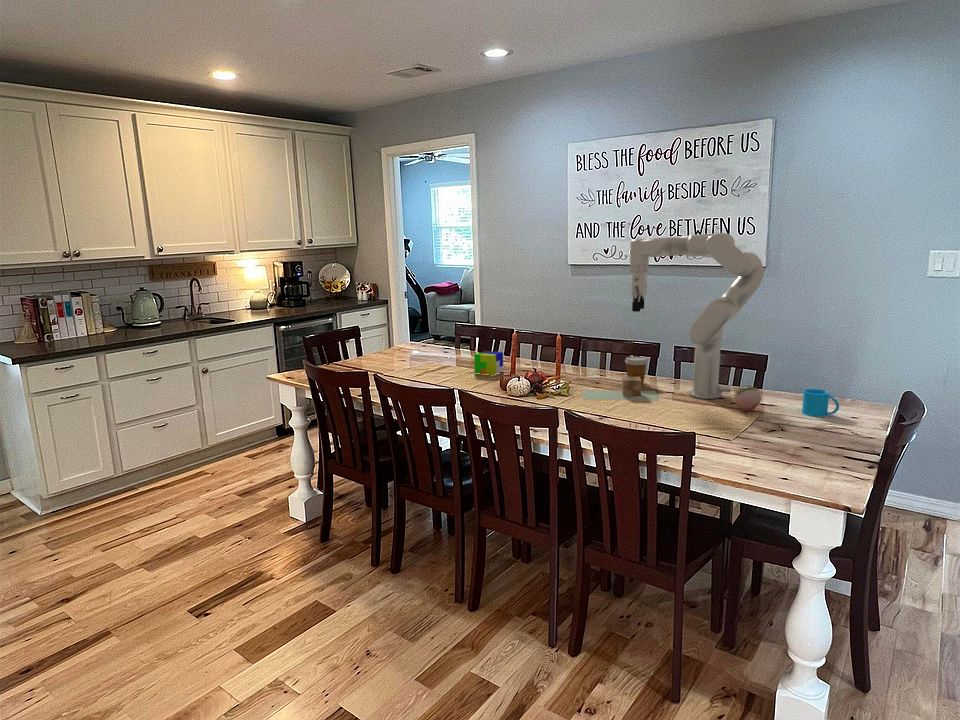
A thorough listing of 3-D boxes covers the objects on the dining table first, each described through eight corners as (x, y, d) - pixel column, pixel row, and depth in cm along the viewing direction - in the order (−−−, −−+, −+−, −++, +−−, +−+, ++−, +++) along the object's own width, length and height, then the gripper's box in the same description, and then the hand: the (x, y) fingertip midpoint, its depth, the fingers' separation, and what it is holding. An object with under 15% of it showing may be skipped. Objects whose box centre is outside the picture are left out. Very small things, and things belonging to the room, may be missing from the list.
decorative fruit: (747, 407, 242) (749, 381, 240) (764, 412, 234) (766, 386, 232) (727, 410, 238) (729, 384, 236) (743, 416, 231) (745, 389, 229)
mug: (798, 413, 232) (799, 391, 231) (807, 409, 238) (809, 387, 236) (833, 420, 224) (835, 397, 222) (842, 415, 229) (844, 393, 227)
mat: (655, 392, 267) (655, 391, 267) (660, 401, 253) (660, 400, 252) (582, 391, 271) (582, 390, 271) (582, 400, 257) (582, 399, 257)
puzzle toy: (503, 372, 311) (502, 352, 309) (492, 376, 302) (492, 355, 301) (485, 370, 316) (484, 350, 314) (474, 374, 308) (474, 354, 306)
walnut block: (639, 393, 264) (639, 376, 263) (640, 397, 257) (641, 380, 256) (621, 393, 265) (622, 376, 264) (623, 397, 258) (623, 380, 257)
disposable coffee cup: (624, 387, 276) (624, 360, 273) (624, 382, 285) (625, 356, 283) (647, 388, 274) (647, 360, 271) (646, 383, 283) (647, 356, 280)
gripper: (644, 270, 258) (643, 312, 261) (651, 267, 274) (650, 307, 277) (626, 270, 261) (625, 312, 264) (633, 267, 276) (633, 307, 280)
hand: (638, 310), depth 271 cm, fingers open, 9 cm apart
